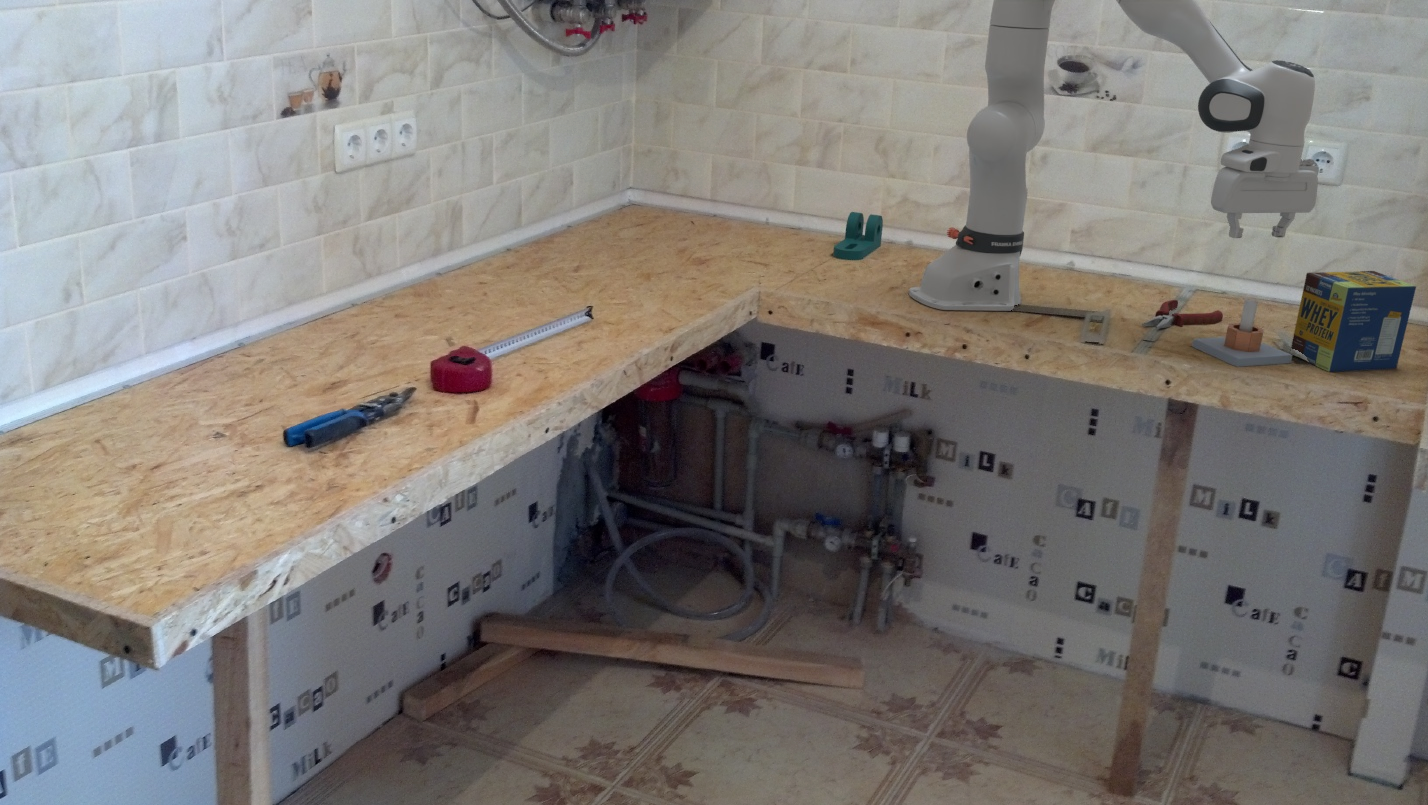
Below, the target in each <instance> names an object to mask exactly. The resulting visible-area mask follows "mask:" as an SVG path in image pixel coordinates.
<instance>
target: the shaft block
mask: <svg viewBox="0 0 1428 805" xmlns="http://www.w3.org/2000/svg"><path fill="white" fill-rule="evenodd" d="M1257 307H1258V301H1257V300H1255V299H1245V300H1244V302H1243V307H1242V312H1241V313H1242V314H1241V317H1240V322H1239V323H1240V327H1239V330H1242V331H1249V332H1252V329H1253V325H1254V324H1255V317H1256V313H1257ZM1225 338H1226V336H1216V337H1201V338H1200V337H1199V338H1193V339H1192V344H1191V347H1192V348H1195V349H1196V350H1199V351H1200V352H1204V353H1205V354H1207V355H1209V356H1211V357H1212V356H1213V357H1214V358H1217V359H1218V360H1221V361H1222V362H1225V363H1227V364H1229V365H1233V366H1234V367H1237V368H1238V367H1241V368H1242V367H1255V366H1266V365H1267V366H1268V365H1270V366H1271V365H1282V364H1284V365H1285V364H1292V361H1293V360H1292V359H1293V355H1291V354H1290V352H1289V353H1288V352H1287V351H1283V350H1281V349H1279V348H1276V347H1274V346H1271V345H1269V344H1267V343H1265V342H1263V341H1262V342H1261V347H1260V351H1258V352H1244V351H1238V350H1233V349H1231V348H1229V347H1226V346H1224V343H1225Z"/></svg>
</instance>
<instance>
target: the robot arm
mask: <svg viewBox="0 0 1428 805" xmlns="http://www.w3.org/2000/svg"><path fill="white" fill-rule="evenodd" d="M1115 1H1116V3H1117V4H1118V5H1119V6H1120V8H1121V10H1122V11H1123V12H1124V14H1125V15H1126V17H1128V18H1129V20H1130V21H1131V22H1133V24H1135V25H1136V27H1138V28H1139V29H1140V30H1141V31H1143V32H1144V33H1145V34H1148V35H1151V36H1153V37H1156V38H1160V39H1163V40H1165V41H1167V42H1169V43H1171V44H1173V45H1174V46H1176V47H1177V48H1180V50H1182V51H1183V52H1184V53H1185V54H1186V55H1187V56H1188V57H1189V59H1190V60H1191V61H1192V62H1193V63H1194V65H1195V66H1196V67H1197V69H1198V70H1199V71H1200V73H1201V74H1202V75H1203V77H1204V78H1205V79H1206V81H1207V82H1208V83H1209V84H1207V86H1205V88H1204V89H1203V90H1202V92H1201V93H1200V96H1199V98H1198V104H1197V105H1198V106H1197V111H1198V114H1199V115H1198V117H1199V118H1200V120H1201V121H1202V123H1203V124H1204V125H1205V126H1206V127H1207V128H1209V129H1210V130H1213V131H1216V132H1218V133H1222V134H1223V133H1224V134H1230V133H1231V134H1232V133H1236V132H1248V133H1249V141H1248V144H1244V145H1242V146H1240V147H1238V148H1235V149H1232V150H1230V151H1227V152H1224V153H1223V154H1222V155H1221V157H1220V165H1221V166H1223V167H1222V168H1220V169H1219V171H1218V173H1217V175H1216V177H1215V181H1214V184H1213V188H1212V192H1211V197H1210V198H1211V199H1210V204H1211V208H1212V209H1213V210H1214V211H1217V212H1219V213H1223V214H1226V218H1227V222H1228V225H1229V232H1228V236H1229V237H1230V238H1232V239H1240V238H1242V237H1243V233H1244V229H1245V228H1243V227H1241V226H1240V222H1239V220H1242V216H1243V214H1279V216H1280V217H1281V218H1280V220H1279V221H1278V222H1277V224H1276V225H1272V231H1271V236H1272V237H1275V238H1285V236H1286V233H1287V229H1288V227H1290V225H1291V223H1293V221H1294V219H1295V217H1296V213H1297V214H1298V213H1301V214H1303V213H1304V214H1307V213H1311V212H1312V210H1313V209H1314V208H1315V206H1316V201H1317V196H1318V183H1319V178H1318V176H1319V171H1320V167H1319V165H1318V163H1317V162H1315V160H1314V159H1311V158H1307V159H1303V158H1302V157H1303V152H1304V147H1305V131H1306V127H1307V125H1308V123H1309V121H1310V119H1311V115H1312V109H1313V104H1314V99H1315V90H1316V86H1315V85H1316V80H1315V76H1314V74H1313V73H1312V71H1311V70H1310V69H1309V68H1307V67H1305V66H1303V65H1300V64H1298V63H1294V62H1290V61H1285V60H1279V59H1278V60H1271V61H1270V62H1269V63H1267V64H1265V65H1263V66H1261V67H1258V68H1255V69H1252V68H1250V67H1249V66H1247V65H1246V64H1245V63H1244V62H1243V61H1242V60H1241V59H1240V57H1239V56H1238V55H1237V54H1236V52H1235V51H1234V50H1233V48H1231V46H1230V45H1229V44H1228V43H1227V40H1225V39H1224V37H1223V36H1222V35H1221V33H1219V31H1218V30H1217V28H1216V27H1215V26H1214V25H1213V24H1212V22H1211V21H1210V19H1209V18H1208V17H1207V15H1206V13H1205V12H1204V10H1203V9H1202V7H1201V5H1200V4H1199V2H1198V1H1197V0H1115ZM1055 2H1056V0H993V3H992V6H991V12H990V13H991V14H990V21H989V26H988V27H989V28H988V34H987V35H988V37H987V45H986V53H985V62H984V63H985V64H984V68H985V69H984V70H985V73H986V78H987V98H988V102H987V106H986V107H984V108H982V109H980V110H979V111H978V112H977V113H976V114H975V116H974V117H973V118H972V120H971V122H970V123H969V125H968V128H967V132H966V141H967V146H968V153H969V154H968V158H969V163H968V164H969V177H970V178H969V179H970V182H969V183H970V184H969V185H970V186H969V196H968V204H967V205H968V206H967V215H966V222H965V225H964V226H963V227H962V229H961V231H960V230H959V229H958V228H954V227H949V228H948V229H947V231H946V235H947V237H948V238H951V239H953V240H956V241H955V245H954V246H951V248H949V249H948V250H946V251H945V252H944V253H942V255H939V257H937V258H935V259H933V261H931V262H929V263H928V264H927V266H926V267H925V269H924V272H923V274H922V279H921V281H920V286H912V287H909V291H908V295H909V296H910V298H912V299H914V300H915V301H917V302H918V303H920V304H922V305H925V306H927V307H930V308H934V309H937V310H941V311H943V310H944V311H987V312H988V311H995V312H997V311H998V312H1001V311H1002V312H1011V310H1012V309H1013V308H1014V309H1015V307H1014V305H1017V306H1018V304H1019V305H1021V303H1022V296H1021V289H1020V288H1021V287H1020V257H1021V255H1022V251H1023V250H1024V249H1023V247H1024V241H1025V240H1024V239H1025V232H1024V231H1023V230H1024V229H1023V228H1024V223H1025V222H1024V221H1025V215H1026V208H1027V200H1028V193H1029V192H1028V188H1027V180H1026V178H1027V177H1026V176H1027V175H1026V172H1027V171H1026V160H1027V159H1026V158H1027V153H1028V152H1030V151H1032V150H1033V149H1034V148H1036V146H1037V145H1038V144H1039V142H1040V141H1041V139H1042V137H1043V135H1044V130H1045V125H1046V124H1045V123H1046V122H1045V118H1044V117H1045V65H1046V58H1047V51H1048V50H1047V49H1048V42H1049V34H1050V25H1051V16H1052V11H1053V7H1054V3H1055ZM1012 311H1013V310H1012Z"/></svg>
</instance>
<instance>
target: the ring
mask: <svg viewBox="0 0 1428 805" xmlns="http://www.w3.org/2000/svg"><path fill="white" fill-rule="evenodd" d="M1239 327H1240V322H1239V323H1238V322H1237V323H1228V325H1227V327H1226V334H1225V337H1226V338H1225V343H1224V346H1226V347H1229V348H1231V349H1233V350H1238V351H1244V352H1258V351H1260V347H1261V342H1262V343H1263V336H1264V331H1265V329H1264V328H1261V327H1260V326H1258V325H1257V326H1256V325H1254V324H1253V329H1252V332H1249V331H1242V330H1239Z"/></svg>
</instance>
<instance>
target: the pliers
mask: <svg viewBox="0 0 1428 805" xmlns="http://www.w3.org/2000/svg"><path fill="white" fill-rule="evenodd" d="M1178 305H1179V301H1178V299H1171V300H1167V301H1164V302H1163V303H1162V304H1161V305H1160V307H1159V310H1157V311H1156V312H1155V315H1154V317H1152V318H1151V319H1149V320H1148V321H1146V322H1143V323H1142V324H1141V326H1142V327H1155V330H1156V329H1165V328H1169V327H1171V326H1176V327H1179V328H1183V326H1189V325H1190V326H1192V325H1193V326H1194V325H1197V326H1198V325H1202V326H1203V325H1213V324H1217V323H1219V322H1221V321H1222V320H1223V317H1224V315H1223V314H1224V313H1223V312H1222V311H1221V310H1214V311H1212V312H1206V313H1203V312H1202V313H1199V312H1198V313H1177V312H1176V313H1175V312H1174V313H1171V315H1170V310H1171V311H1174V310H1173V309H1175V308H1178ZM1175 310H1176V309H1175Z"/></svg>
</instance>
